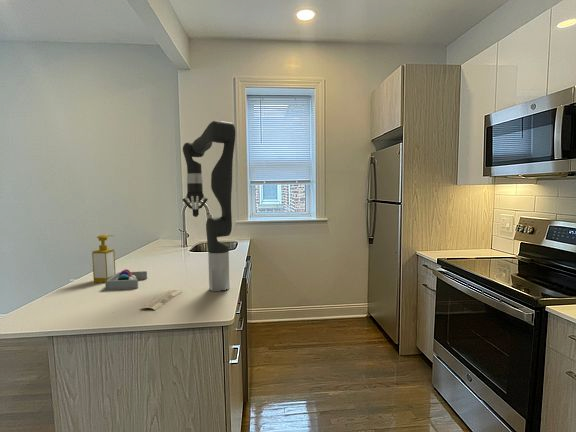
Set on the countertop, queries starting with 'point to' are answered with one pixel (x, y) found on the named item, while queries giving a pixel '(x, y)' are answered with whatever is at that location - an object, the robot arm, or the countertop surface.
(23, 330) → the countertop surface
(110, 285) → the tray
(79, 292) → the countertop surface
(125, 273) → the rainbow striped dome
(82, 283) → the countertop surface
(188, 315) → the countertop surface
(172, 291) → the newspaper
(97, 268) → the soap bottle
